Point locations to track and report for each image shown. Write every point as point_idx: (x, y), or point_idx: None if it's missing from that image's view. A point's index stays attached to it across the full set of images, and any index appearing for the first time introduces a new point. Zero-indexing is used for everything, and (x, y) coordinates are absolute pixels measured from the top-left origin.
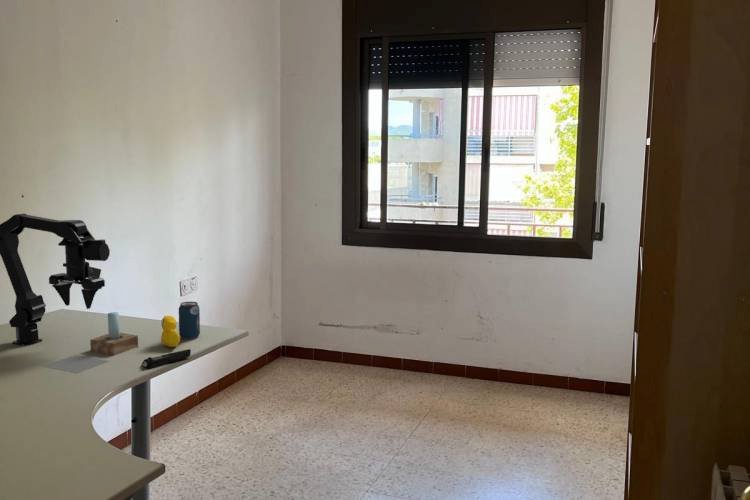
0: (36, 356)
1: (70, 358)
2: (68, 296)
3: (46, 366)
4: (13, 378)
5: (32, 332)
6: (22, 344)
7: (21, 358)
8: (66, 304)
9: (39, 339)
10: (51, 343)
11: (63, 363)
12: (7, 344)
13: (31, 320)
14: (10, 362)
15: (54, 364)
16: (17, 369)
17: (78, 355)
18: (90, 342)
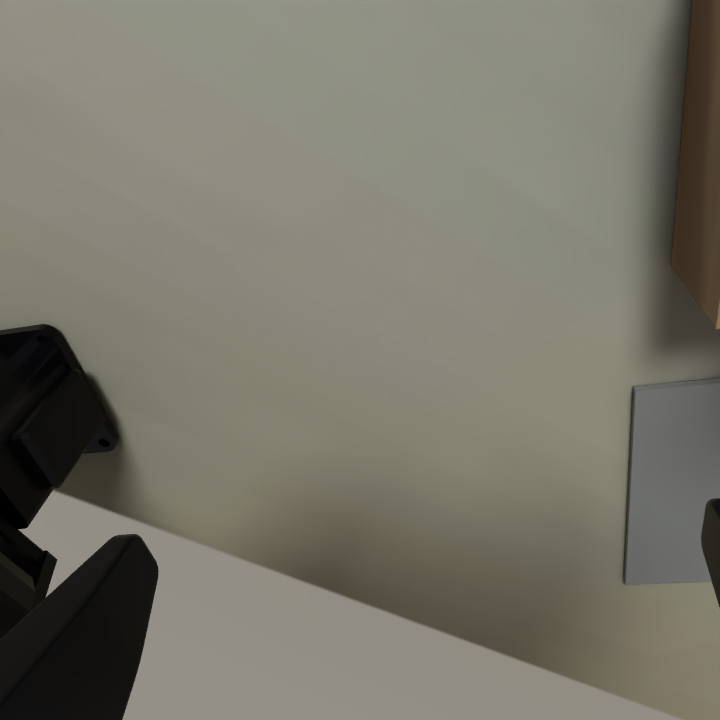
0: (402, 506)
1: (676, 452)
2: (35, 708)
3: (658, 579)
4: (638, 684)
5: (63, 466)
6: (92, 449)
7: (368, 554)
8: (151, 593)
9: (36, 343)
10: (165, 316)
11: None
12: None
13: (21, 569)
14: (390, 600)
15: (674, 547)
16: (533, 632)
17: (676, 390)
18: (706, 312)
